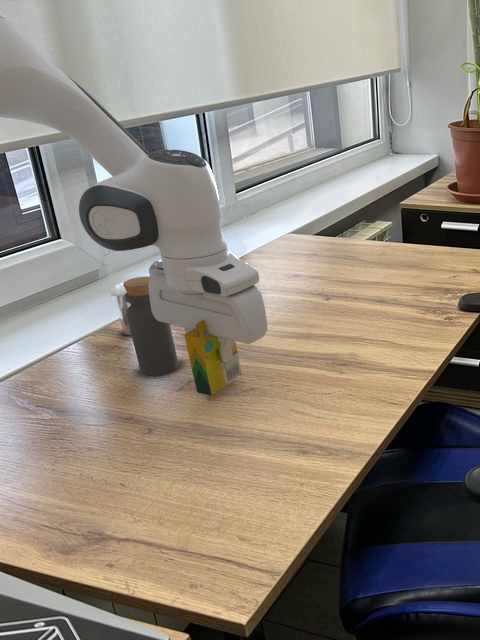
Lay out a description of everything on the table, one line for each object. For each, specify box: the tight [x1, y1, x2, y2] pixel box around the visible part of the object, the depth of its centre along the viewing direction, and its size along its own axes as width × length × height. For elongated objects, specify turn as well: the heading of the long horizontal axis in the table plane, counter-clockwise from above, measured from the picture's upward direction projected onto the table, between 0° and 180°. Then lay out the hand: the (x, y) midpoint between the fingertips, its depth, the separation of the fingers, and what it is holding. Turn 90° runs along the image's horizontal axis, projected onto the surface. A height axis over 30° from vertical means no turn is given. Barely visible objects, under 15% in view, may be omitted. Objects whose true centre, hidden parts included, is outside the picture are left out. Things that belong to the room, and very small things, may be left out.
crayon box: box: [184, 320, 243, 396], centre depth 105 cm, size 7×3×12 cm, turn 159°
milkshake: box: [109, 282, 132, 336], centre depth 127 cm, size 5×5×10 cm
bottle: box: [122, 276, 179, 377], centre depth 112 cm, size 6×6×15 cm
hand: (214, 357), depth 106 cm, fingers closed on crayon box, 3 cm apart
